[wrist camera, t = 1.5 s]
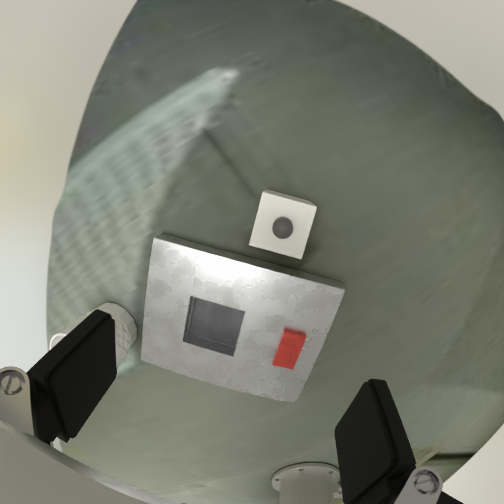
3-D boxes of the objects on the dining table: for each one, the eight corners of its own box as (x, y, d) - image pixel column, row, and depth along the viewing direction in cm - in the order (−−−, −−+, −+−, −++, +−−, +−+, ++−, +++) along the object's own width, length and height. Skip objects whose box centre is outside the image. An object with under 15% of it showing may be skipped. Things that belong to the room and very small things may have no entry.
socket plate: (340, 281, 30) (346, 293, 27) (295, 391, 35) (295, 407, 32) (162, 233, 31) (150, 239, 28) (147, 349, 35) (138, 363, 32)
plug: (309, 201, 29) (318, 208, 22) (297, 243, 30) (302, 263, 23) (266, 189, 29) (261, 192, 22) (255, 231, 30) (247, 248, 23)
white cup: (121, 289, 33) (75, 325, 24) (152, 342, 35) (118, 389, 25) (83, 308, 35) (39, 341, 25) (112, 355, 36) (77, 396, 27)
